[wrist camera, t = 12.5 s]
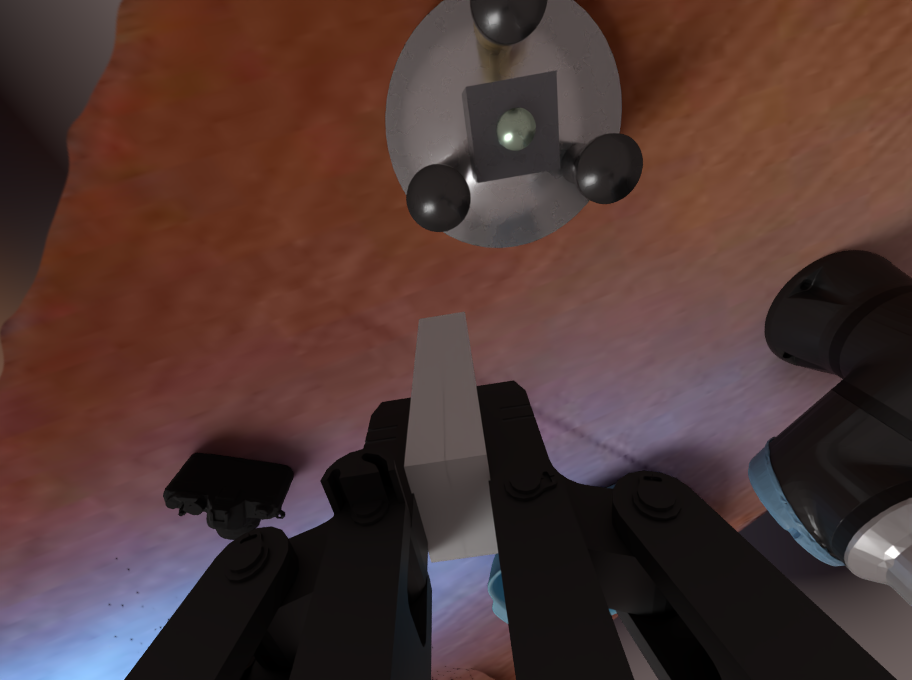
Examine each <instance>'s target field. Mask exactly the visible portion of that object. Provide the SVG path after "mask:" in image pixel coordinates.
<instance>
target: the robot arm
mask: <svg viewBox="0 0 912 680" xmlns="http://www.w3.org/2000/svg"><path fill="white" fill-rule="evenodd" d="M765 338H766V342H767V344H768V346H769V348H770V350H771V351H772V352H773V353H774V354H775V355H776V356H777V357H779V358H780V359H782V360H784V361H786V362H788V363H790V364H793V365H797V366H801V367H805V368H809V369H814V370H818V371H822V372H826V373H830V374H834V375H837V376H839V377H841V378H842V379H843V380H842V381H841V382H840V383H838V384H837V385H836V386H835V387H834V388H833V389H831V390H830V391H829V392H828V393H827V394H825V395H824V396H823V397H822V398H821V399H820V400H819V401H817V402H816V403H815V404H814V405H813V406H812V407H810V408H809V409H808V410H807V411H806V412H805V413H803V414H802V415H801V416H800V417H799V418H798V419H796V420H795V421H794V422H793V423H792V424H791V425H789V426H788V427H787V428H786V429H785V430H784V431H782V432H781V433H780V434H779V435H778V436H777V437H772V438H771V439H769V440H768V441H767V443H766V445H765V447H764V448H763V449H762V450H761V451H760V452H759V453H758V454H757V455H756V456H754V457H753V458H752V460H751V461H750V463H749V469H748V476H749V480H750V482H751V485H752V487H753V489H754V491H755V492H756V494H757V496H758V497H759V499H760V500H761V502H762V503H763V505H764V506H765V507H766V509H767V510H768V511H769V512H770V514H771V515H772V516H773V517H774V518H775V520H776V521H777V522H778V523H779V524H780V525H781V526H782V527H783V528H784V529H785V530H788V531H789V532H790V533H791V535H792V536H793V538H794V539H795V540H796V541H797V542H798V543H799V544H800V545H801V546H802V547H803V548H804V549H805V550H807V551H808V552H809V553H811V554H812V555H813V556H815V557H816V558H817V559H819V560H821V561H822V562H824V563H826V564H829V565H832V566H840V565H841V566H844V565H846V567H847V568H848V569H850V571H851V572H852V573H853V574H855V575H857V576H858V577H860V578H863V579H866V580H870V581H874V582H878V583H883V584H887V585H889V586H891V587H892V588H893V589H894V590H895V591H896V592H897V593H898V594H899V595H900V596H901V597H902V598H903V599H904V600H905V601H906V602H907V603H908V604H909V605H910V606H911V607H912V278H910V277H909V276H908V275H907V274H905V273H904V272H902V271H901V270H900V269H898V268H897V267H895V266H894V265H893V264H892V263H891V262H890V261H888V260H887V259H885V258H884V257H882V256H880V255H877V254H874V253H871V252H867V251H861V250H849V251H842V252H838V253H834V254H831V255H828V256H826V257H823V258H821V259H819V260H817V261H815V262H813V263H811V264H810V265H808V266H807V267H805V268H804V269H802V270H801V271H800V272H798V273H797V274H796V275H795V276H794V277H792V278H791V279H790V280H789V281H788V282H787V283H786V284H785V286H784V287H783V288H782V289H781V290H780V292H779V293H778V294H777V296H776V297H775V299H774V301H773V303H772V304H771V306H770V309H769V311H768V314H767V317H766V321H765ZM321 484H322V486H323V488H324V491H325V493H326V495H327V498H328V500H329V502H330V505H331V507H332V510H333V512H334V516H333V517H332V518H331V519H330V520H328V521H327V522H325V523H323V524H321V525H319V526H317V527H315V528H313V529H310V530H308V531H306V532H303V533H301V534H299V535H296V536H294V537H292V538H289V539H288V537H287V536H286V535H285V533H284V532H283V531H282V530H281V529H278V528H274V527H263V528H257V529H254V530H252V531H250V532H247V533H245V534H243V535H241V536H240V537H238V538H237V539H235V540H234V541H232V542H231V543H230V544H228V545H227V546H226V547H225V548H224V550H223V551H222V552H221V553H220V554H219V555H218V556H217V557H216V558H215V559H214V561H213V562H212V563H211V565H210V566H209V567H208V569H207V570H206V571H205V573H204V574H203V575H202V577H201V578H200V579H199V581H198V582H197V583H196V585H195V586H194V587H193V589H192V590H191V591H190V593H189V594H188V595H187V597H186V598H185V599H184V601H183V602H182V603H181V605H180V606H179V607H178V609H177V610H176V611H175V613H174V614H173V615H172V617H171V618H170V619H169V621H168V622H167V623H166V625H165V626H164V627H163V629H162V630H161V631H160V633H159V634H158V635H157V637H156V638H155V639H154V641H153V642H152V643H151V645H150V646H149V647H148V649H147V650H146V651H145V653H144V654H143V655H142V657H141V658H140V659H139V661H138V662H137V663H136V665H135V666H134V667H133V669H132V670H131V671H130V673H129V674H128V675H127V677H126V678H125V679H124V680H431V632H432V588H431V583H430V578H429V575H428V572H427V563H428V552H429V555H430V559H431V562H439V561H447V560H454V559H461V558H468V557H475V556H483V555H490V554H497V553H498V555H499V562H500V569H501V576H502V583H503V590H504V597H505V604H506V611H507V618H508V625H509V633H510V640H511V647H512V654H513V661H514V668H515V675H516V680H634V678H633V675H632V672H631V669H630V667H629V664H628V661H627V658H626V655H625V652H624V650H623V647H622V644H621V641H620V638H619V636H618V633H617V630H616V627H615V625H614V622H613V619H612V616H611V613H610V611H609V609H613V610H616V612H617V614H618V616H619V617H620V619H621V620H622V622H623V623H624V625H625V627H626V628H627V630H628V631H629V633H630V635H631V636H632V638H633V639H634V641H635V643H636V644H637V646H638V647H639V649H640V651H641V652H642V654H643V656H644V657H645V659H646V660H647V662H648V663H649V665H650V667H651V668H652V670H653V672H654V673H655V675H656V676H657V678H658V679H659V680H897V679H896V678H895V677H893V676H892V675H891V674H890V673H889V672H888V671H887V670H886V669H885V668H884V667H883V666H882V665H880V664H879V663H878V662H877V661H876V660H875V659H874V658H873V657H872V656H871V655H870V654H869V653H868V652H867V651H865V650H864V649H863V648H862V647H861V646H860V645H859V644H858V643H857V642H856V641H855V640H854V639H852V638H851V637H850V636H849V635H848V634H847V633H846V632H845V631H844V630H843V629H842V628H841V627H840V626H838V625H837V624H836V623H835V622H834V621H833V620H832V619H831V618H830V617H829V616H828V615H826V614H825V613H824V612H823V611H822V610H821V609H820V608H819V607H818V606H817V605H816V604H814V602H812V601H811V600H810V599H809V598H808V597H807V596H806V595H805V594H804V593H803V592H802V591H800V589H798V588H797V587H796V586H795V585H794V584H793V583H792V582H791V581H790V580H789V579H788V578H786V577H785V575H783V574H782V573H781V572H780V571H779V570H778V569H777V568H776V567H775V566H774V565H773V564H771V562H769V561H768V560H767V559H766V558H765V557H764V556H763V555H762V554H761V553H760V552H759V551H757V550H756V549H755V548H754V547H753V546H752V545H751V544H750V543H749V542H748V541H747V540H746V539H744V537H742V536H741V535H740V534H739V533H738V532H737V531H736V530H735V529H734V528H733V527H732V526H731V525H730V524H728V523H727V522H726V521H725V520H724V519H723V518H722V517H721V516H720V515H719V514H718V513H717V512H715V511H714V510H713V509H712V508H711V507H710V506H709V505H708V504H707V503H706V502H705V501H704V500H703V499H701V498H700V497H699V496H698V495H697V494H696V493H695V492H694V491H693V490H692V489H691V488H689V487H688V486H686V485H685V484H684V483H682V482H681V481H679V480H678V479H676V478H674V477H671V476H668V475H666V474H663V473H660V472H652V471H639V472H633V473H629V474H627V475H625V476H624V477H622V478H620V479H619V480H618V481H617V483H616V485H615V486H614V488H613V489H611V488H603V487H595V486H588V485H584V484H579V483H576V482H574V481H572V480H569V479H567V478H566V477H564V476H563V475H561V474H560V473H559V472H558V471H557V470H556V469H555V468H554V467H553V465H552V464H551V462H550V460H549V457H548V454H547V451H546V448H545V445H544V443H543V440H542V437H541V434H540V431H539V428H538V425H537V422H536V419H535V417H534V414H533V411H532V408H531V406H530V402H529V399H528V396H527V393H526V390H524V389H523V388H522V387H521V386H520V385H518V384H517V383H516V382H515V381H507V382H501V383H494V384H488V385H481V386H476V380H475V373H474V367H473V361H472V355H471V348H470V342H469V336H468V329H467V323H466V317H465V312H461V313H454V314H448V315H442V316H436V317H429V318H423V319H419V325H418V335H417V345H416V355H415V364H414V374H413V384H412V393H411V398H406V399H399V400H393V401H386V402H382V403H381V404H380V405H379V406H378V408H377V409H376V410H375V411H374V413H373V414H372V415H371V419H370V423H369V427H368V432H367V436H366V440H365V444H364V448H363V449H362V450H358V451H355V452H351V453H349V454H347V455H345V456H343V457H342V458H340V459H338V460H337V461H336V462H334V463H333V464H332V465H331V466H330V467H329V468H328V469H327V470H326V472H325V474H324V475H323V477H322V479H321Z"/></svg>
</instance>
